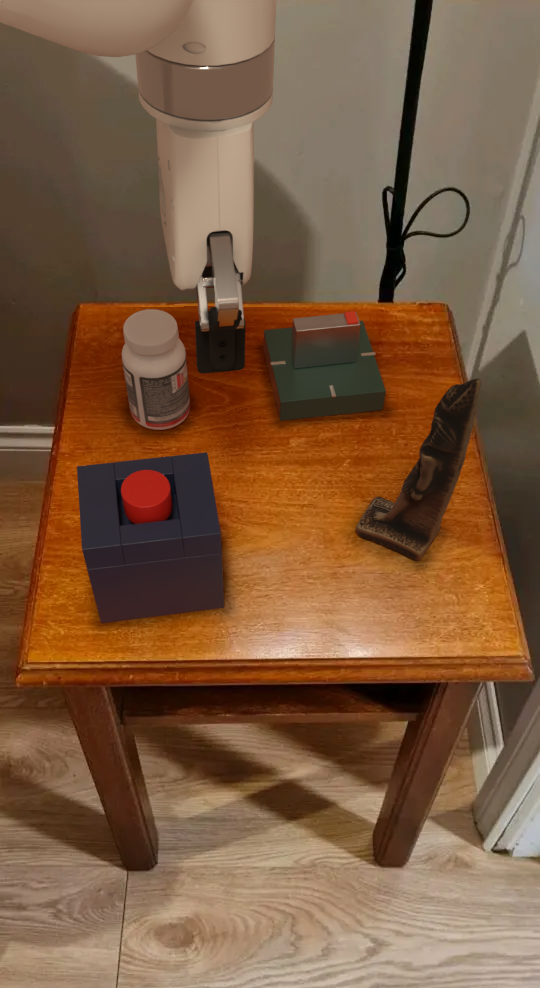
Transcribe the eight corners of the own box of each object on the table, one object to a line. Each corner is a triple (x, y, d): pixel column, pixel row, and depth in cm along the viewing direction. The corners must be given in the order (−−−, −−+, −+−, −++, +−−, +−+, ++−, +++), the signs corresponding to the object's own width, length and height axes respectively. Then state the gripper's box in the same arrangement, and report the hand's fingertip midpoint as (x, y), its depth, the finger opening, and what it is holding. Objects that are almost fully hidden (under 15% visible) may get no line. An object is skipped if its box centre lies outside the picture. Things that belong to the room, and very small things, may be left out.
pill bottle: (201, 400, 87) (196, 316, 79) (172, 440, 84) (164, 357, 76) (148, 382, 88) (138, 297, 80) (119, 420, 85) (105, 337, 77)
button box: (101, 623, 73) (81, 549, 65) (95, 544, 77) (76, 465, 69) (224, 607, 74) (221, 533, 66) (211, 530, 78) (207, 451, 70)
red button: (126, 529, 67) (122, 509, 65) (122, 492, 69) (119, 472, 67) (174, 523, 67) (172, 504, 66) (169, 487, 69) (167, 466, 67)
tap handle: (294, 368, 86) (296, 328, 82) (290, 356, 87) (292, 315, 83) (356, 362, 87) (361, 322, 83) (351, 349, 88) (356, 309, 84)
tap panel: (279, 422, 86) (279, 401, 83) (262, 349, 91) (262, 327, 89) (384, 410, 87) (387, 390, 84) (361, 339, 92) (363, 318, 90)
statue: (372, 504, 80) (405, 323, 64) (447, 535, 79) (500, 357, 62) (352, 537, 78) (380, 359, 62) (428, 570, 77) (478, 395, 60)
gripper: (123, -1, 54) (145, 251, 68) (153, 160, 45) (171, 414, 59) (247, -6, 55) (244, 243, 69) (302, 151, 46) (285, 403, 60)
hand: (210, 322), depth 64 cm, fingers open, 9 cm apart
